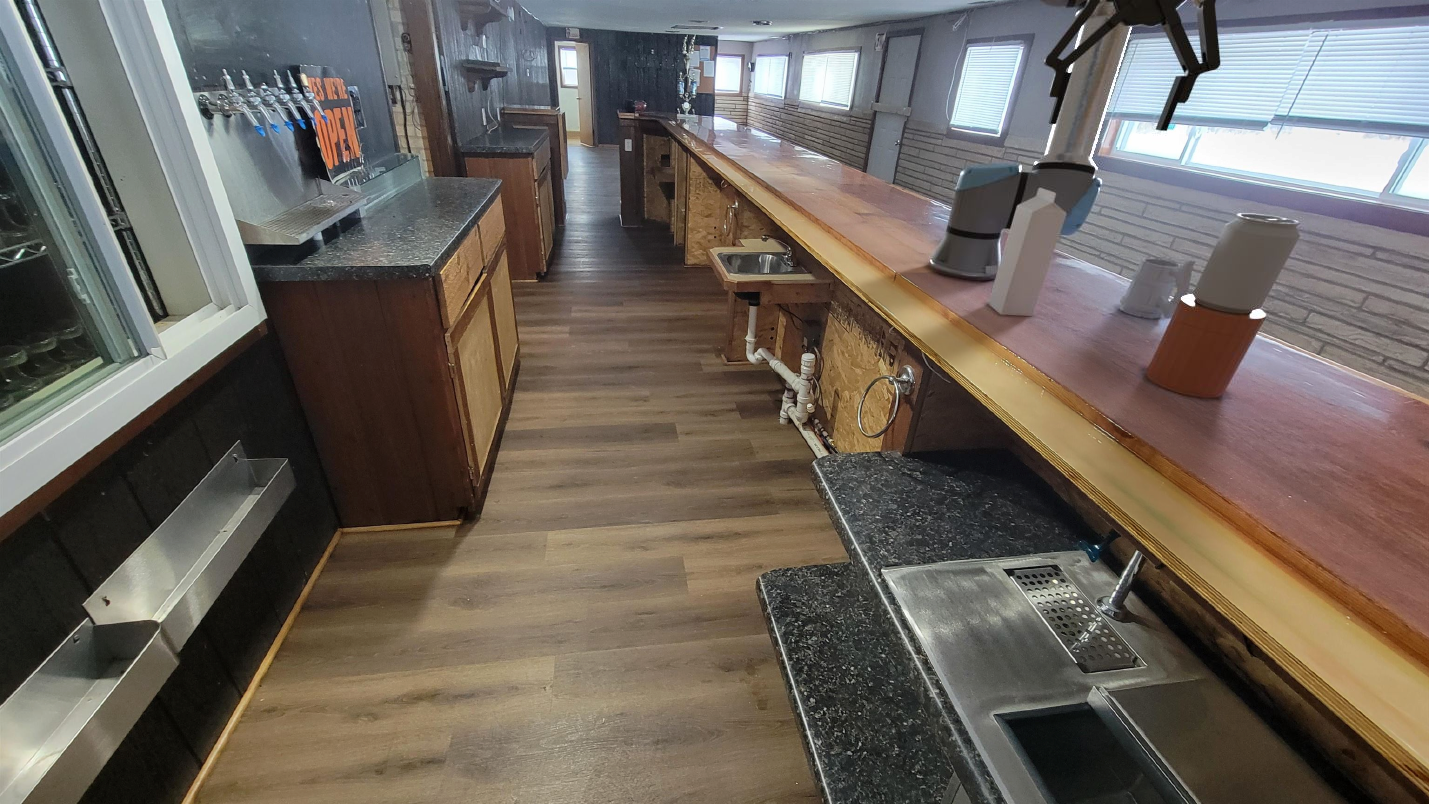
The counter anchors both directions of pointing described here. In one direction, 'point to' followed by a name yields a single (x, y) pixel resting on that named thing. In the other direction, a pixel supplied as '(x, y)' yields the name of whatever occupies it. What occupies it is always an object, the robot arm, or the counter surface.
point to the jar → (1202, 348)
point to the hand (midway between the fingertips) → (1104, 127)
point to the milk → (1027, 254)
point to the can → (1246, 262)
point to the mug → (1156, 288)
